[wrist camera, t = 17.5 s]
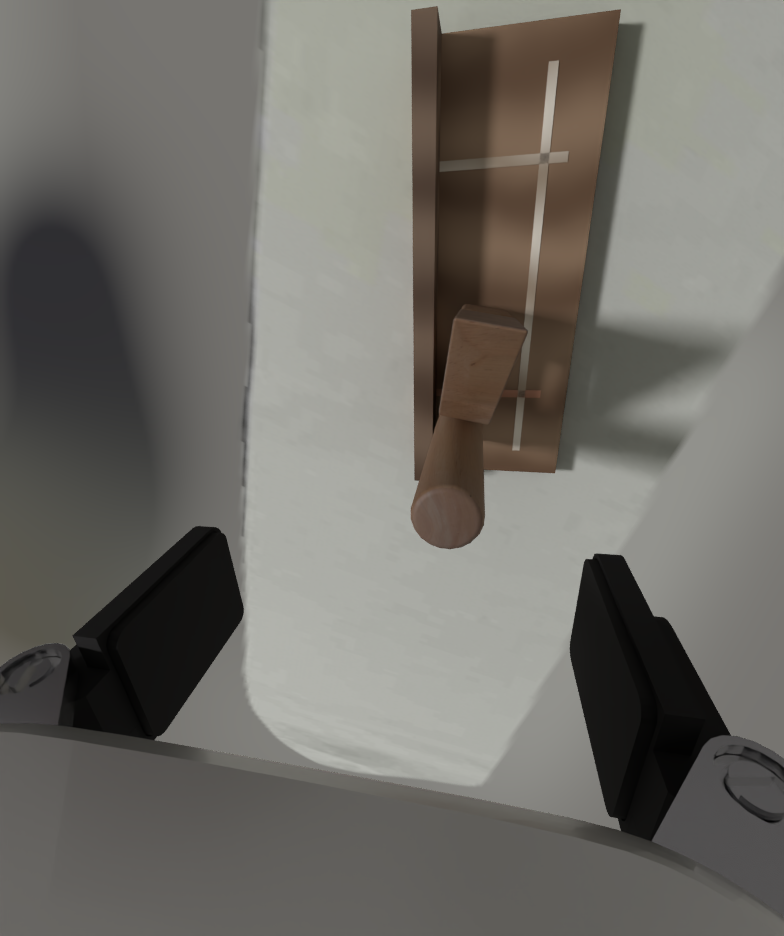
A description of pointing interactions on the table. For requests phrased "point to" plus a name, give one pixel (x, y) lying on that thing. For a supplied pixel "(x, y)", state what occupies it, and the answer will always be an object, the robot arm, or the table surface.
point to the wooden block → (465, 425)
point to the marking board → (505, 208)
